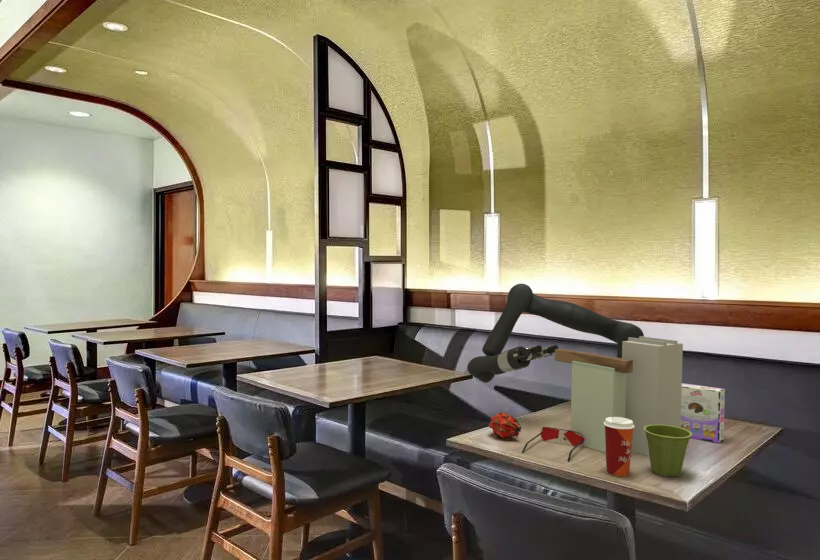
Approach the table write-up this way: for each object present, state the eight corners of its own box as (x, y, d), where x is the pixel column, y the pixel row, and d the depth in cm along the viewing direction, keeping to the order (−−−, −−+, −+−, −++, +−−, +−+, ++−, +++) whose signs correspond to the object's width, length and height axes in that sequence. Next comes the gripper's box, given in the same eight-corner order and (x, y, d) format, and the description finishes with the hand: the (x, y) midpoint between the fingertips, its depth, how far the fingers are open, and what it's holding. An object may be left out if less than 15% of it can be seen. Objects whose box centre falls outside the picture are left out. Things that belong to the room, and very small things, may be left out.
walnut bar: (562, 359, 191) (562, 348, 191) (632, 372, 170) (632, 360, 170) (554, 360, 189) (554, 349, 189) (625, 373, 168) (625, 361, 168)
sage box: (583, 438, 186) (584, 359, 185) (624, 451, 174) (626, 366, 173) (570, 441, 183) (572, 361, 182) (611, 454, 170) (613, 368, 170)
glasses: (585, 448, 178) (585, 431, 178) (568, 463, 164) (569, 445, 164) (540, 440, 185) (540, 424, 185) (521, 454, 171) (521, 437, 171)
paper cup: (629, 480, 151) (631, 425, 150) (599, 474, 155) (600, 420, 154) (636, 471, 157) (637, 418, 157) (606, 465, 161) (607, 414, 161)
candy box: (724, 440, 187) (726, 388, 186) (718, 444, 183) (720, 391, 182) (679, 431, 196) (680, 381, 196) (672, 434, 192) (674, 384, 191)
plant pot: (641, 476, 153) (642, 433, 153) (643, 462, 164) (644, 422, 164) (691, 483, 149) (692, 439, 148) (690, 469, 159) (691, 427, 159)
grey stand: (643, 441, 184) (646, 335, 183) (679, 451, 174) (682, 340, 173) (619, 447, 177) (622, 338, 176) (656, 458, 168) (659, 342, 167)
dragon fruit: (491, 436, 192) (518, 451, 183) (477, 425, 187) (504, 440, 178) (505, 414, 194) (532, 428, 185) (492, 402, 189) (519, 416, 180)
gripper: (497, 349, 203) (533, 337, 192) (524, 348, 212) (560, 337, 201) (502, 370, 201) (538, 359, 189) (529, 369, 210) (565, 358, 198)
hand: (549, 348), depth 195 cm, fingers open, 8 cm apart
